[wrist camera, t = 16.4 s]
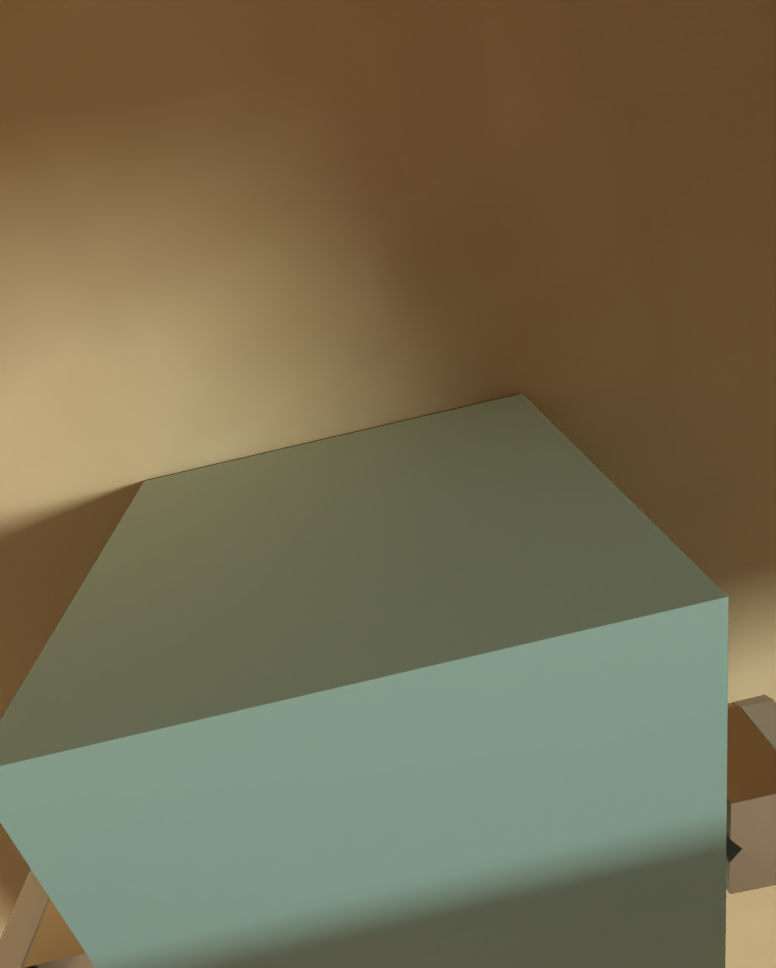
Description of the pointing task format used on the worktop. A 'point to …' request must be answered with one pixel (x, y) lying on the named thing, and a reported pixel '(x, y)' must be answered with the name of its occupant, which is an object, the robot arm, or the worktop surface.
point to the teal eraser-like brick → (383, 716)
